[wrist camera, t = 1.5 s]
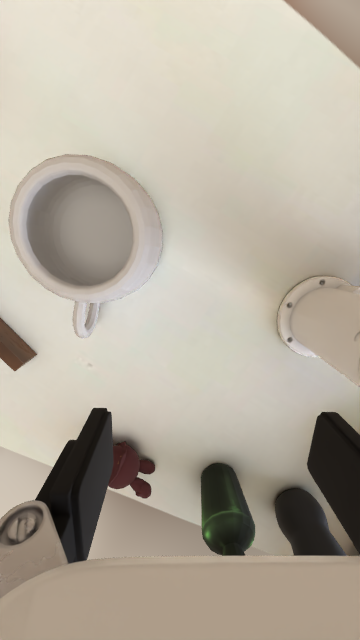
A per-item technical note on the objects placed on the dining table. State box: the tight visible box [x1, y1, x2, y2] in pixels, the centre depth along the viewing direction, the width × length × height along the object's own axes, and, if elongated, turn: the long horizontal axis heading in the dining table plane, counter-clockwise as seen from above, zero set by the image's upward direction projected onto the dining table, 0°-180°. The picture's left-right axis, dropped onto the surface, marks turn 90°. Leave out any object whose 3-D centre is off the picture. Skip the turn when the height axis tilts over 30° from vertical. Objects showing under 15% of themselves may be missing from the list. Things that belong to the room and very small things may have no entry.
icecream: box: [108, 441, 155, 498], centre depth 41 cm, size 7×7×15 cm
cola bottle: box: [275, 489, 347, 556], centre depth 34 cm, size 8×8×30 cm
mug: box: [9, 154, 162, 338], centre depth 30 cm, size 21×17×10 cm
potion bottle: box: [201, 464, 255, 556], centre depth 38 cm, size 8×8×18 cm
